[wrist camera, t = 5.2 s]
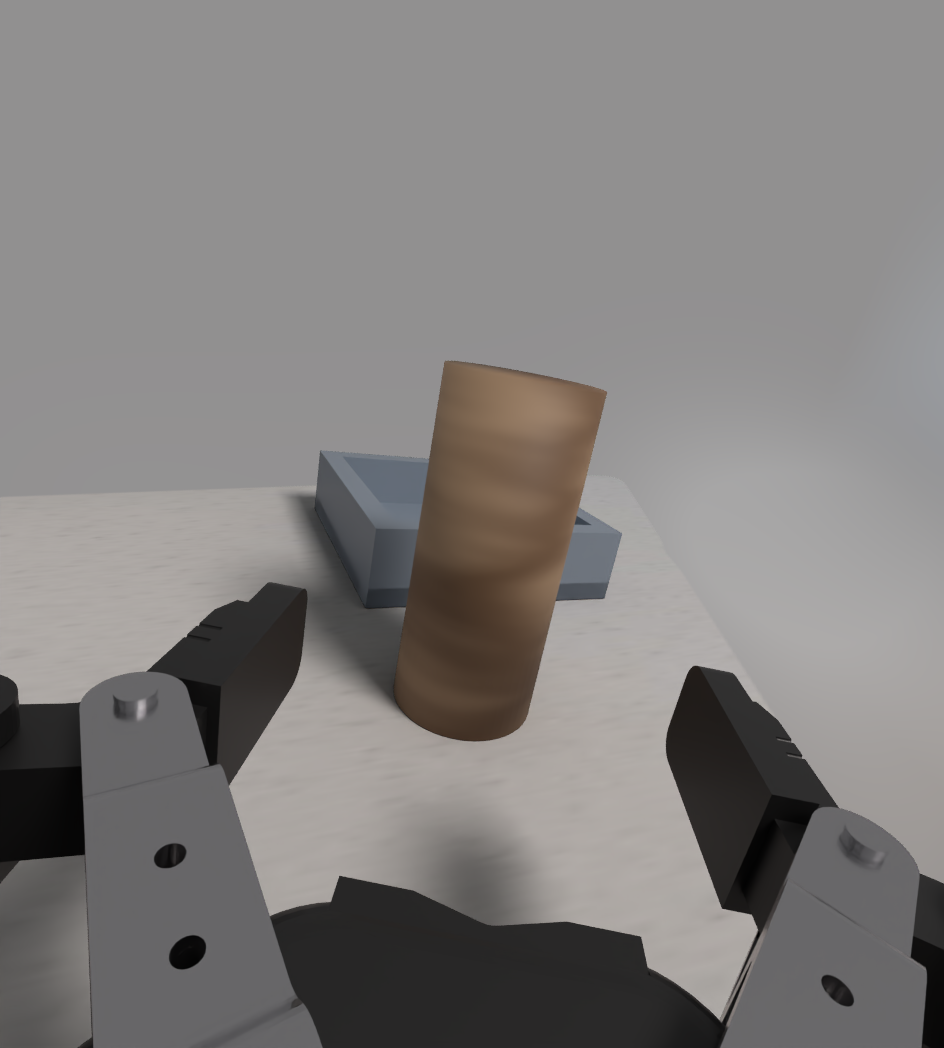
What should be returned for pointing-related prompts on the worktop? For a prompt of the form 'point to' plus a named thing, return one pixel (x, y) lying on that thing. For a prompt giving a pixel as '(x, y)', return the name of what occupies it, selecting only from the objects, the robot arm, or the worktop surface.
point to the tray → (393, 520)
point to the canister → (491, 545)
